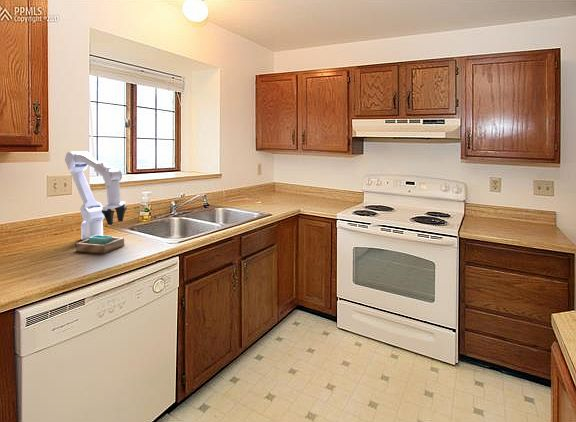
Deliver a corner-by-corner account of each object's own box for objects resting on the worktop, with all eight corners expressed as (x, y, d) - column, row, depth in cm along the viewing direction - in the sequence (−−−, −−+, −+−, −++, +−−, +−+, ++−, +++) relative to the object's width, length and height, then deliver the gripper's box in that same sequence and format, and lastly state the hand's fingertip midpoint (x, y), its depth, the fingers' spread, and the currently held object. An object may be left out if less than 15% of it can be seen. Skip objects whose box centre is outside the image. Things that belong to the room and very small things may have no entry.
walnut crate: (76, 251, 169) (75, 243, 169) (98, 243, 183) (97, 235, 182) (104, 253, 166) (103, 245, 166) (124, 245, 180) (123, 237, 179)
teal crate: (89, 247, 173) (88, 237, 172) (97, 244, 178) (96, 234, 177) (105, 248, 171) (104, 238, 170) (112, 245, 176) (111, 236, 175)
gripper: (110, 197, 173) (112, 226, 176) (130, 193, 187) (132, 220, 190) (97, 196, 175) (99, 225, 177) (117, 192, 189) (119, 219, 191)
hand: (115, 223), depth 184 cm, fingers open, 7 cm apart
